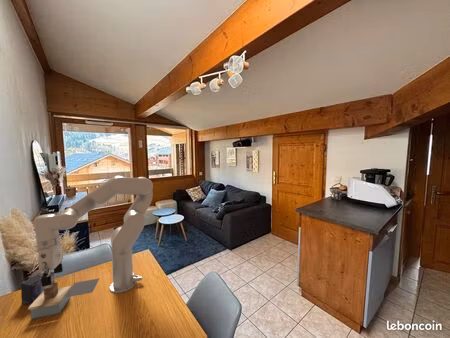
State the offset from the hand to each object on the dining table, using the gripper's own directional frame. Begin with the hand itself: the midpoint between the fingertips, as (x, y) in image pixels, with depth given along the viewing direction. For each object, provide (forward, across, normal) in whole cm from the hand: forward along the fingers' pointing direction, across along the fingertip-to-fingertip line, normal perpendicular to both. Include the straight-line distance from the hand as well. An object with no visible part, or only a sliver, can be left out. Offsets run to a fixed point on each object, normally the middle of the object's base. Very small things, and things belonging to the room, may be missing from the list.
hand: (53, 278), depth 87 cm
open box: (+14, 0, +2) cm, 14 cm away
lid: (+9, 0, +1) cm, 9 cm away
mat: (+14, +12, -6) cm, 20 cm away
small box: (+14, +11, +12) cm, 21 cm away
